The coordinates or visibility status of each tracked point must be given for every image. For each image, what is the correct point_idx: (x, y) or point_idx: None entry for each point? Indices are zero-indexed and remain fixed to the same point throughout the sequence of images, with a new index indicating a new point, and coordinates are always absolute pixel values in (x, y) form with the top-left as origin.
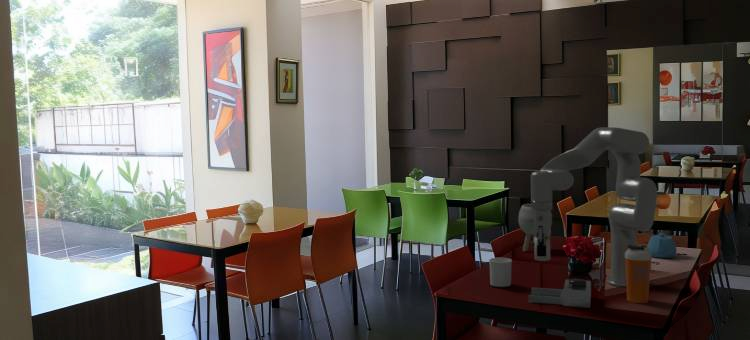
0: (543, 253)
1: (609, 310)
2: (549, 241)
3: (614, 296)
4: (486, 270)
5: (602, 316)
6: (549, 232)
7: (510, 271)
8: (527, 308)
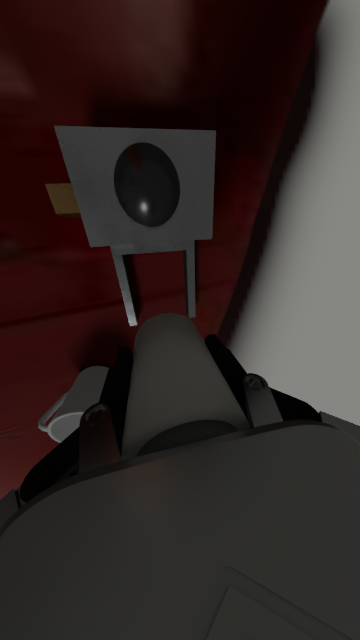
0: (228, 349)
1: (209, 82)
2: (200, 382)
3: (17, 33)
4: (5, 426)
5: (266, 116)
6: (310, 499)
7: (88, 389)
8: (227, 305)
